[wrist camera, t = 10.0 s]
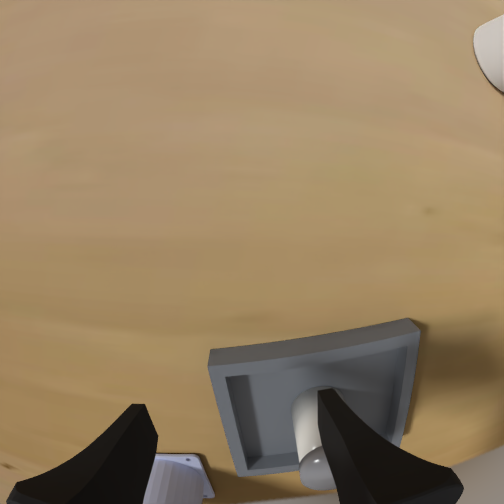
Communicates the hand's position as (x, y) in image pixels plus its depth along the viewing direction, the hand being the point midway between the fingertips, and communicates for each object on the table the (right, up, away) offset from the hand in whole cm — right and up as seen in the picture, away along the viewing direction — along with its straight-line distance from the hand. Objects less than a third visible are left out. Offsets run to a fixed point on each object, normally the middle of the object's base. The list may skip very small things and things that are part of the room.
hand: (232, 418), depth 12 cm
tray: (+6, -5, +12) cm, 15 cm away
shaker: (+6, -6, +11) cm, 14 cm away
